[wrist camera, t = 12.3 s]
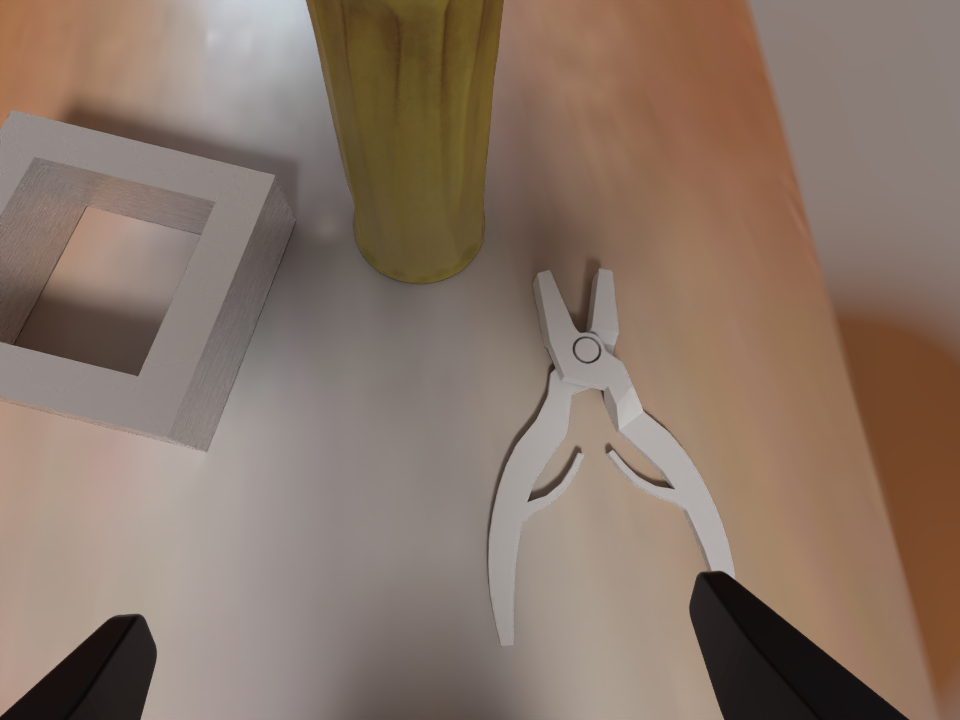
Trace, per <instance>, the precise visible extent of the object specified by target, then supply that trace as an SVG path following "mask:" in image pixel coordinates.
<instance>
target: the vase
mask: <svg viewBox="0 0 960 720" xmlns="http://www.w3.org/2000/svg"><path fill="white" fill-rule="evenodd" d="M306 2H307V6H308V10H309V14H310V18H311V22H312V26H313V30H314V34H315V38H316V43H317V47H318V52H319V57H320V61H321V67H322V72H323V77H324V82H325V86H326V90H327V95H328V99H329V104H330V109H331V113H332V118H333V123H334V128H335V132H336V136H337V141H338V145H339V150H340V155H341V159H342V163H343V168H344V172H345V175H346V179H347V183H348V186H349V189H350V192H351V195H352V198H353V202H354V215H353V227H354V235H355V239H356V242H357V246H358V248H359V250H360V252H361V253H362V255H363V256H364V257H365V259H366V260H367V261H368V262H369V263H370V264H371V265H372V266H373V267H375V268H376V269H377V270H378V271H380V272H381V273H383V274H385V275H386V276H388V277H390V278H393V279H395V280H398V281H403V282H408V283H417V284H422V283H432V282H437V281H440V280H443V279H446V278H449V277H451V276H453V275H455V274H456V273H458V272H460V271H461V270H462V269H464V268H465V267H466V266H467V265H468V264H469V263H470V262H471V261H472V260H473V258H474V257H475V255H476V254H477V252H478V251H479V249H480V247H481V245H482V242H483V237H484V228H485V217H484V210H483V203H484V191H485V174H486V161H487V153H488V144H489V131H490V120H491V109H492V96H493V84H494V75H495V68H496V62H497V55H498V48H499V38H500V29H501V20H502V11H503V3H504V0H306Z"/></svg>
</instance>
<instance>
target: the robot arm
mask: <svg viewBox="0 0 960 720" xmlns="http://www.w3.org/2000/svg"><path fill="white" fill-rule="evenodd" d="M689 611H690V618H691V621H692V624H693V627H694V630H695V633H696V637H697V640H698V643H699V646H700V649H701V652H702V655H703V658H704V661H705V664H706V668H707V671H708V674H709V677H710V680H711V683H712V686H713V689H714V692H715V695H716V698H717V701H718V704H719V707H720V710H721V713H722V715H723V718H724V720H909V719H908V718H907V717H905V716H904V715H903V714H902V713H900V712H899V711H898V710H897V709H895V708H894V707H893V706H892V705H890V704H889V703H888V702H887V701H885V700H884V699H883V698H882V697H880V696H879V695H878V694H877V693H875V692H874V691H873V690H872V689H870V688H869V687H868V686H867V685H865V684H864V683H863V682H862V681H860V680H859V679H858V678H857V677H855V676H854V675H853V674H852V673H850V672H849V671H848V670H847V669H846V668H844V667H843V666H842V665H841V664H839V663H838V662H837V661H836V660H834V659H833V658H832V657H831V656H829V655H828V654H827V653H826V652H824V651H823V650H822V649H821V648H819V647H818V646H817V645H816V644H814V643H813V642H812V641H811V640H809V639H808V638H807V637H806V636H804V635H803V634H802V633H801V632H799V631H798V630H797V629H796V628H794V627H793V626H792V625H791V624H789V623H788V622H787V621H786V620H784V619H783V618H782V617H781V616H780V615H778V614H777V613H776V612H775V611H773V610H772V609H771V608H770V607H768V606H767V605H766V604H765V603H763V602H762V601H761V600H760V599H758V598H757V597H756V596H755V595H753V594H752V593H751V592H750V591H748V590H747V589H746V588H745V587H743V586H742V585H741V584H740V583H738V582H737V581H736V580H735V579H733V578H732V577H731V576H730V575H728V574H727V573H725V572H723V571H706V572H700V573H699V574H698V575H697V578H696V581H695V585H694V589H693V593H692V596H691V600H690V605H689ZM156 658H157V649H156V645H155V642H154V640H153V637H152V635H151V632H150V630H149V627H148V625H147V622H146V620H145V618H144V617H143V616H142V615H141V614H127V615H117V616H114V617H112V618H110V619H108V620H107V621H106V622H105V623H104V624H103V625H101V626H100V627H99V628H98V629H97V630H96V631H95V632H94V633H93V634H91V635H90V636H89V637H88V638H87V639H86V640H85V641H84V642H83V643H82V644H80V645H79V646H78V647H77V648H76V649H75V650H74V651H73V652H72V653H70V654H69V655H68V656H67V657H66V658H65V659H64V660H63V661H62V662H60V663H59V664H58V665H57V666H56V667H55V668H54V669H53V670H52V671H50V672H49V673H48V674H47V675H46V676H45V677H44V678H43V679H42V680H41V681H39V682H38V683H37V684H36V685H35V686H34V687H33V688H32V689H31V690H29V691H28V692H27V693H26V694H25V695H24V696H23V697H22V698H21V699H19V700H18V701H17V702H16V703H15V704H14V705H13V706H12V707H11V708H9V709H8V710H7V711H6V712H5V713H4V714H3V715H2V716H1V717H0V720H140V719H141V716H142V712H143V708H144V705H145V701H146V697H147V694H148V690H149V686H150V682H151V679H152V675H153V671H154V668H155V664H156Z"/></svg>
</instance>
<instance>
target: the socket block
mask: <svg viewBox="0 0 960 720" xmlns="http://www.w3.org/2000/svg"><path fill="white" fill-rule="evenodd" d="M86 206H89V207H93V208H97V209H101V210H105V211H109V212H113V213H117V214H121V215H125V216H129V217H133V218H137V219H141V220H145V221H149V222H153V223H157V224H161V225H165V226H169V227H173V228H177V229H181V230H186V231H190V232H194V233H198V234H201V236H200V239H199V241H198V243H197V245H196V248H195V250H194V252H193V254H192V257H191V259H190V261H189V263H188V266H187V268H186V270H185V272H184V275H183V277H182V279H181V281H180V284H179V286H178V288H177V290H176V293H175V295H174V297H173V299H172V302H171V304H170V306H169V308H168V311H167V313H166V315H165V317H164V320H163V322H162V324H161V326H160V329H159V331H158V333H157V335H156V338H155V340H154V342H153V344H152V347H151V349H150V351H149V353H148V356H147V358H146V360H145V362H144V365H143V367H142V369H141V371H140V374H139V376H135V375H131V374H127V373H123V372H119V371H115V370H111V369H107V368H103V367H99V366H95V365H91V364H86V363H82V362H78V361H74V360H70V359H66V358H62V357H58V356H54V355H50V354H46V353H42V352H38V351H34V350H30V349H26V348H22V347H18V346H14V343H15V341H16V339H17V337H18V335H19V333H20V331H21V330H22V328H23V326H24V324H25V322H26V320H27V318H28V316H29V314H30V312H31V311H32V309H33V307H34V305H35V303H36V301H37V299H38V297H39V295H40V293H41V292H42V290H43V288H44V286H45V284H46V282H47V280H48V278H49V276H50V274H51V273H52V271H53V269H54V267H55V265H56V263H57V261H58V259H59V257H60V256H61V254H62V252H63V250H64V248H65V246H66V244H67V242H68V240H69V238H70V237H71V235H72V233H73V231H74V229H75V227H76V225H77V223H78V221H79V219H80V218H81V216H82V214H83V212H84V210H85V208H86ZM295 223H296V220H295V217H294V215H293V213H292V211H291V209H290V206H289V204H288V202H287V200H286V197H285V195H284V193H283V191H282V188H281V186H280V184H279V182H278V179H277V177H276V175H273V174H269V173H265V172H261V171H257V170H253V169H249V168H245V167H241V166H237V165H233V164H229V163H225V162H221V161H217V160H213V159H208V158H204V157H200V156H196V155H192V154H188V153H184V152H180V151H176V150H172V149H168V148H164V147H160V146H156V145H152V144H148V143H144V142H140V141H136V140H132V139H128V138H124V137H120V136H116V135H112V134H108V133H104V132H100V131H96V130H92V129H87V128H83V127H79V126H75V125H71V124H67V123H63V122H59V121H55V120H51V119H47V118H43V117H39V116H35V115H31V114H27V113H23V112H19V111H15V110H12V111H11V113H10V114H9V116H8V118H7V119H6V121H5V123H4V124H3V126H2V127H1V129H0V401H4V402H8V403H12V404H16V405H20V406H24V407H28V408H32V409H36V410H40V411H44V412H48V413H52V414H56V415H60V416H64V417H68V418H72V419H76V420H80V421H84V422H88V423H92V424H96V425H100V426H104V427H108V428H112V429H116V430H120V431H124V432H128V433H132V434H136V435H140V436H144V437H148V438H152V439H156V440H160V441H164V442H168V443H172V444H176V445H180V446H184V447H188V448H192V449H196V450H200V451H205V452H207V449H208V447H209V444H210V442H211V439H212V436H213V434H214V431H215V429H216V426H217V424H218V421H219V418H220V416H221V413H222V411H223V408H224V406H225V403H226V400H227V398H228V395H229V393H230V390H231V388H232V385H233V382H234V380H235V377H236V375H237V372H238V369H239V367H240V364H241V362H242V359H243V357H244V354H245V351H246V349H247V346H248V344H249V341H250V339H251V336H252V333H253V331H254V328H255V326H256V323H257V321H258V318H259V315H260V313H261V310H262V308H263V305H264V302H265V300H266V297H267V295H268V292H269V290H270V287H271V284H272V282H273V279H274V277H275V274H276V272H277V269H278V266H279V264H280V261H281V259H282V256H283V254H284V251H285V248H286V246H287V243H288V241H289V238H290V235H291V233H292V230H293V228H294V225H295Z"/></svg>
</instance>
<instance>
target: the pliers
mask: <svg viewBox="0 0 960 720" xmlns="http://www.w3.org/2000/svg"><path fill="white" fill-rule="evenodd" d="M533 289H534V295H535V300H536V305H537V311H538V316H539V322H540V327H541V332H542V338H543V343H544V348H548V351H549V353H550V356H551V358H552V361H553V363H554V365H555V368H556V369H555V370H554V371H553V372H552V373H551V374H550V375H549V383H548V391H547V398H546V400H545V402H544V404H543V406H542V408H541V410H540V412H539V414H538V416H537V418H536V420H535V422H534V423H533V424H532V426H531V427H530V428H529V429H528V431H527V432H526V433H525V434H524V436H523V437H522V438H521V439H520V441H519V442H518V443H517V444H516V446H515V448H514V450H513V452H512V454H511V456H510V458H509V460H508V462H507V464H506V466H505V468H504V471H503V474H502V477H501V480H500V484H499V487H498V490H497V494H496V498H495V503H494V507H493V512H492V518H491V525H490V532H489V540H488V577H489V592H490V598H491V604H492V609H493V615H494V620H495V624H496V628H497V632H498V637H499V641H500V645H501V646H510V645H514V619H513V616H514V587H515V567H516V560H517V553H518V546H519V540H520V534H521V528H522V524H523V523H524V522H525V521H526V520H527V519H528V518H529V517H530V516H531V515H532V514H534V513H535V512H537V511H539V510H540V509H542V508H544V507H546V506H547V505H549V504H551V503H552V502H553V501H554V500H555V499H556V498H557V497H558V496H559V495H560V494H561V493H563V492H564V491H565V490H566V489H567V487H568V486H569V484H570V482H571V481H572V479H573V477H574V476H575V474H576V472H577V470H578V468H579V466H580V463H581V461H582V459H583V457H584V455H583V454H581V453H577V454H576V456H575V458H574V460H573V462H572V465H571V467H570V469H569V470H568V472H567V474H566V475H565V477H564V478H563V480H562V481H561V483H560V484H559V485H558V486H557V487H555V488H554V489H553V490H552V491H551V492H550V493H548V494H547V495H546V496H544V497H541V498H538V499H535V500H532V501H529V502H528V499H529V496H530V493H531V490H532V488H533V485H534V482H535V480H536V479H537V477H538V475H539V474H540V472H541V471H542V469H543V468H544V466H545V464H546V463H547V461H548V460H549V459H550V457H551V456H552V454H553V453H554V451H555V450H556V449H557V447H558V446H559V444H560V443H561V442H562V440H563V439H564V437H565V436H566V435H567V430H568V422H569V414H570V407H571V399H572V395H573V394H575V393H578V392H581V391H583V390H586V389H588V388H595V389H599V390H603V391H604V401H605V406H606V408H607V411H608V413H609V415H610V418H611V420H612V422H613V425H614V427H615V429H616V432H617V433H619V434H620V435H621V436H622V437H623V438H624V439H625V440H626V441H628V442H629V443H630V444H631V445H632V446H633V447H634V448H635V449H637V450H638V451H639V452H640V453H641V454H642V455H643V456H644V457H645V458H646V459H647V460H648V461H649V462H650V463H651V464H652V465H653V466H654V467H655V468H656V469H657V470H659V471H660V473H661V474H662V476H663V477H664V479H665V480H666V482H667V483H668V485H669V486H670V488H671V489H670V488H664V487H657V486H654V485H652V484H650V483H649V482H647V481H645V480H643V479H641V478H640V477H638V476H637V475H636V474H635V473H634V472H633V471H632V470H631V469H629V468H628V467H627V466H626V465H625V464H624V463H623V461H622V460H621V459H620V458H619V456H618V455H617V454H616V453H615V452H614V450H612V451H610V452H608V453H607V454H606V455H607V456H608V458H609V459H610V460H611V461H612V463H613V464H614V465H615V466H616V468H617V469H618V470H619V471H620V472H621V473H622V474H623V475H624V476H625V477H626V478H627V479H628V480H629V481H630V482H631V483H632V484H634V485H635V486H637V487H638V488H640V489H642V490H643V491H645V492H646V493H648V494H650V495H652V496H655V497H658V498H661V499H663V500H666V501H669V502H671V503H673V504H674V505H676V506H678V507H679V508H681V509H682V510H683V511H684V513H685V515H686V518H687V520H688V522H689V524H690V526H691V528H692V530H693V533H694V535H695V537H696V540H697V542H698V544H699V546H700V549H701V552H702V555H703V558H704V560H705V563H706V566H707V569H708V571H723V572H725V573H727V574H728V575H730V576H731V577H732V578H733V579H735V573H734V566H733V562H732V557H731V553H730V549H729V544H728V541H727V537H726V534H725V531H724V528H723V525H722V522H721V519H720V516H719V514H718V511H717V509H716V507H715V505H714V502H713V500H712V498H711V495H710V493H709V491H708V490H707V488H706V486H705V484H704V482H703V480H702V478H701V476H700V474H699V472H698V471H697V469H696V468H695V466H694V465H693V463H692V461H691V460H690V458H689V457H688V455H687V454H686V452H685V451H684V450H683V448H682V447H681V446H680V445H679V444H678V442H677V441H676V440H675V439H674V438H673V436H672V435H671V434H670V433H669V432H668V431H667V430H666V429H664V428H663V427H662V426H661V425H660V424H658V423H657V422H656V421H655V420H653V419H652V418H651V417H650V416H648V415H647V414H646V413H645V412H644V411H643V409H642V406H641V404H640V401H639V399H638V397H637V394H636V392H635V389H634V387H633V385H632V382H631V380H630V378H629V375H628V373H627V371H626V368H625V366H624V363H623V362H621V361H620V360H618V359H617V358H615V357H614V356H613V354H614V345H615V342H616V340H617V337H618V334H619V327H618V317H617V308H616V299H615V290H614V280H613V271H612V270H606V269H601V268H599V269H598V271H597V273H596V274H595V276H594V278H593V280H592V288H591V296H590V303H589V311H588V319H587V327H586V333H579V332H578V330H577V329H576V328H575V327H574V324H573V322H572V320H571V318H570V315H569V313H568V311H567V308H566V306H565V304H564V301H563V299H562V297H561V294H560V292H559V290H558V287H557V285H556V283H555V280H554V278H553V276H552V273H551V271H550V270H546V271H543V272H540V273H537V275H536V278H535V281H534V283H533Z"/></svg>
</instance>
